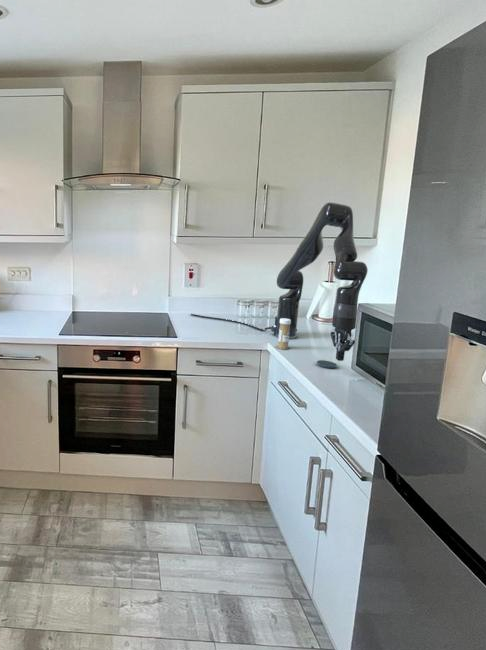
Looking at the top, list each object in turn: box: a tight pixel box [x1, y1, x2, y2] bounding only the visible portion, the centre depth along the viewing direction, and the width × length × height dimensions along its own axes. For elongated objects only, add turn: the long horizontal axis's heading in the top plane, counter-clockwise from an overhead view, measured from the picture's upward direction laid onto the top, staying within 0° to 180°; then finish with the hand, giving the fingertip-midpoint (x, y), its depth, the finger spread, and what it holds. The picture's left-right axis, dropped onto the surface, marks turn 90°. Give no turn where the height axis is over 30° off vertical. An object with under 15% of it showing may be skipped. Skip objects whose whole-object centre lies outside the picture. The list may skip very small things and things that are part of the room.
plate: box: [316, 359, 338, 369], centre depth 166 cm, size 7×7×1 cm
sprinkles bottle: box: [277, 318, 291, 350], centre depth 188 cm, size 5×5×14 cm
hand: (339, 360), depth 157 cm, fingers closed
